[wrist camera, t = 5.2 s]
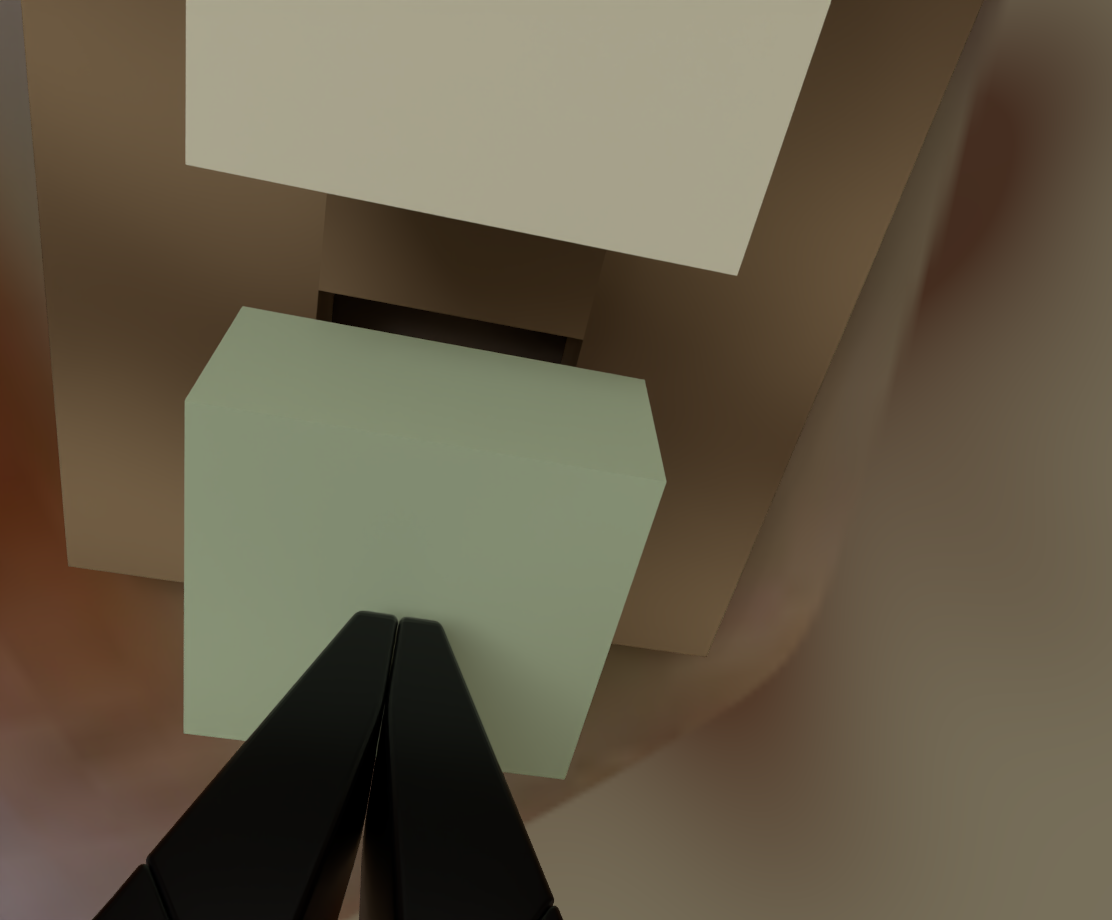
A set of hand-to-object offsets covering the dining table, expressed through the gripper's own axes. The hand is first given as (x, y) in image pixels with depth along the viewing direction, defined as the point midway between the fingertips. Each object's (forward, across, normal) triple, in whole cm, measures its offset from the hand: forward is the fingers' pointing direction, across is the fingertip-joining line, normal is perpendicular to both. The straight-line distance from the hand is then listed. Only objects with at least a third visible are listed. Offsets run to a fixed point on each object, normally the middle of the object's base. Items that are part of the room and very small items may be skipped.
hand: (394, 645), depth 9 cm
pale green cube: (+4, 0, 0) cm, 4 cm away
